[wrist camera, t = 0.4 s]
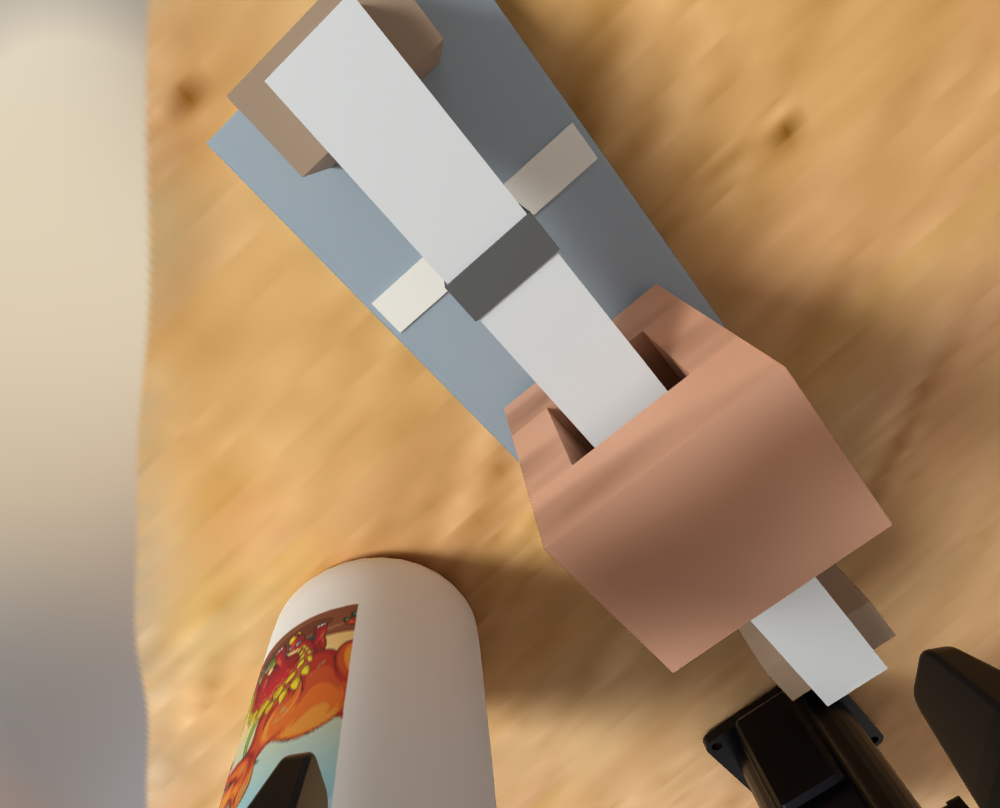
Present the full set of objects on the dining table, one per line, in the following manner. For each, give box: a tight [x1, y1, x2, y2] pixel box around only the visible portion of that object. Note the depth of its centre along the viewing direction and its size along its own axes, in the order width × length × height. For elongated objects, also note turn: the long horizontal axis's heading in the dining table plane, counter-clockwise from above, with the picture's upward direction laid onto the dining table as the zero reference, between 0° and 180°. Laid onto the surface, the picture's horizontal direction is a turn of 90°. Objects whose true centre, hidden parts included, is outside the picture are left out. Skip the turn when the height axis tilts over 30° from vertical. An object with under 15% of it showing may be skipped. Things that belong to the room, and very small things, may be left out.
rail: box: [206, 0, 895, 706], centre depth 18 cm, size 25×8×6 cm, turn 40°
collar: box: [504, 284, 893, 673], centre depth 17 cm, size 5×6×7 cm
